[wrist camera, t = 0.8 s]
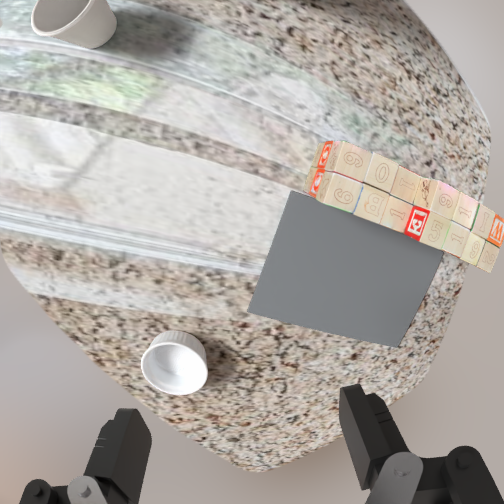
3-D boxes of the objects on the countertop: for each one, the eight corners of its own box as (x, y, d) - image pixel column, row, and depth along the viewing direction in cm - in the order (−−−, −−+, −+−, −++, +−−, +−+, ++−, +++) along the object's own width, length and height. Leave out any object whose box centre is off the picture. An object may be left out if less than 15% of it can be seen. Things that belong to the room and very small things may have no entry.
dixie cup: (132, 39, 29) (102, 8, 20) (75, 69, 30) (32, 49, 20) (121, -6, 27) (93, -41, 17) (66, 22, 27) (28, -3, 18)
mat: (291, 190, 36) (291, 190, 35) (442, 251, 39) (443, 252, 38) (247, 310, 40) (247, 312, 39) (396, 346, 43) (397, 347, 43)
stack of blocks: (301, 191, 36) (331, 208, 24) (317, 142, 34) (356, 135, 22) (436, 244, 39) (492, 275, 27) (451, 203, 37) (510, 223, 25)
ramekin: (177, 313, 40) (170, 330, 36) (223, 355, 42) (222, 374, 38) (136, 348, 41) (127, 365, 37) (180, 385, 43) (176, 404, 39)
